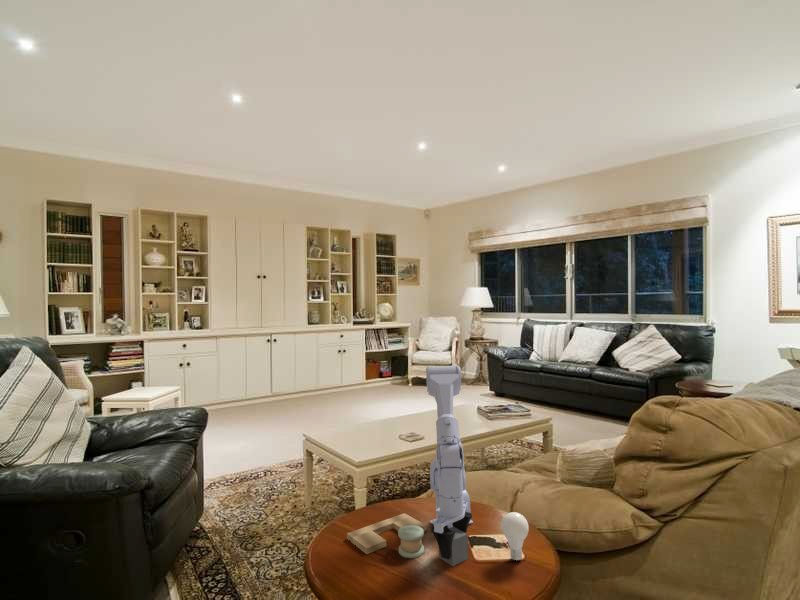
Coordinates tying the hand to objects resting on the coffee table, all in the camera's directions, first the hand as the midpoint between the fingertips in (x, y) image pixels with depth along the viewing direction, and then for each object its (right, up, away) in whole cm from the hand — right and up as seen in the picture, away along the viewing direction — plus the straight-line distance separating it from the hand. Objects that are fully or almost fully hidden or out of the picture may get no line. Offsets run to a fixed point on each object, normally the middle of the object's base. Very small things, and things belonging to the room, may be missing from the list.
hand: (453, 550), depth 113 cm
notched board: (-16, -3, +13) cm, 21 cm away
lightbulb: (+15, -2, -2) cm, 15 cm away
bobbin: (-10, -2, +4) cm, 11 cm away
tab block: (0, -2, 0) cm, 2 cm away
